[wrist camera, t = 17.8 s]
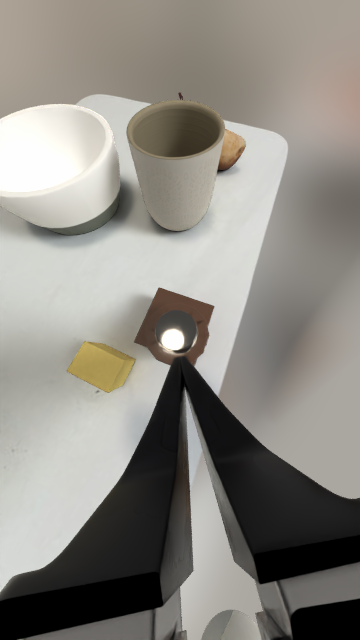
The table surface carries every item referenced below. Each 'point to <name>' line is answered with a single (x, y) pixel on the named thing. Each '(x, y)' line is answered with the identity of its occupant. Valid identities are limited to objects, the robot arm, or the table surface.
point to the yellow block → (101, 366)
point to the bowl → (59, 168)
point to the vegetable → (229, 148)
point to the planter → (176, 159)
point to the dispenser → (169, 302)
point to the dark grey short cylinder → (176, 330)
